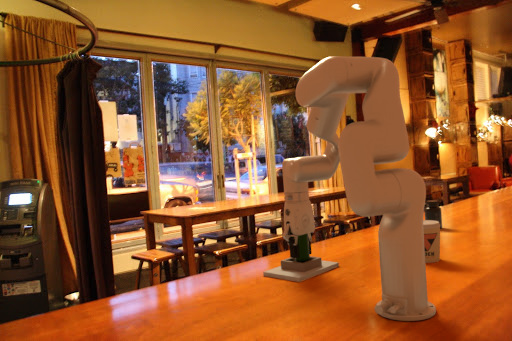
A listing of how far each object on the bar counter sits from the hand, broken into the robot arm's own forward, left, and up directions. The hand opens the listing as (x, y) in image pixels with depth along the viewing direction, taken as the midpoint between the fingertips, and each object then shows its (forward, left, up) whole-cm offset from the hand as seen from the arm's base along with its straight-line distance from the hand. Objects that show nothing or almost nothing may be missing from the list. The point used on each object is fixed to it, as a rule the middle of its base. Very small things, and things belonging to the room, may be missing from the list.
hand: (301, 255), depth 141 cm
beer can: (0, 0, -3) cm, 3 cm away
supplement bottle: (+84, -7, -5) cm, 84 cm away
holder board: (0, 0, -5) cm, 5 cm away
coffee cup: (+30, -27, -5) cm, 40 cm away
